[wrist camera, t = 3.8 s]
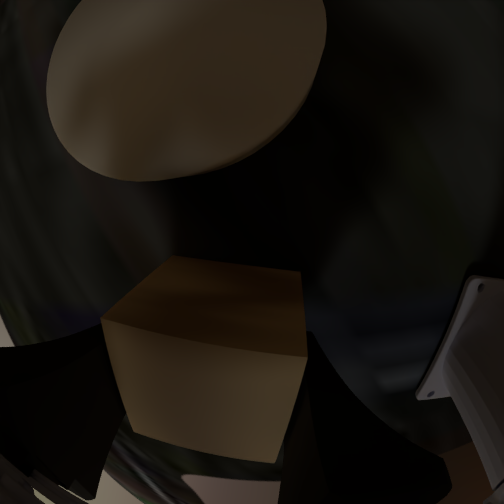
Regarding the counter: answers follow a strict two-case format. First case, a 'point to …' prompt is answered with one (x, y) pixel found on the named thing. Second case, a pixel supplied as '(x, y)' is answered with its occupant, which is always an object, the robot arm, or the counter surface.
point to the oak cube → (210, 355)
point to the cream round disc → (180, 81)
